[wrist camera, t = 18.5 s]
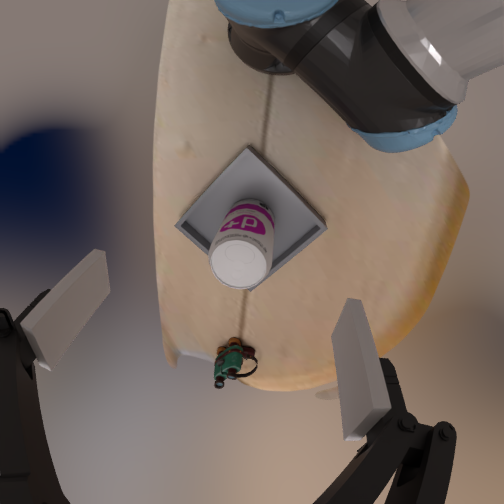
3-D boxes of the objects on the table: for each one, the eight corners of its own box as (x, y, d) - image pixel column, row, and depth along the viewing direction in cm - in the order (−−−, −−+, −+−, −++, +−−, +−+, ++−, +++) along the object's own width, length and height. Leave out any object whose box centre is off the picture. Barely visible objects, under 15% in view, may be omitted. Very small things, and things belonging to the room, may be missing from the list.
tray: (249, 145, 44) (246, 147, 41) (324, 220, 48) (327, 228, 45) (180, 218, 51) (174, 225, 48) (252, 281, 56) (250, 291, 52)
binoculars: (240, 401, 60) (204, 385, 57) (242, 366, 69) (209, 349, 66) (266, 387, 56) (228, 369, 53) (266, 350, 65) (232, 331, 62)
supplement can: (229, 194, 47) (207, 230, 34) (279, 202, 47) (277, 242, 33) (224, 238, 51) (203, 286, 37) (270, 246, 51) (265, 297, 37)
